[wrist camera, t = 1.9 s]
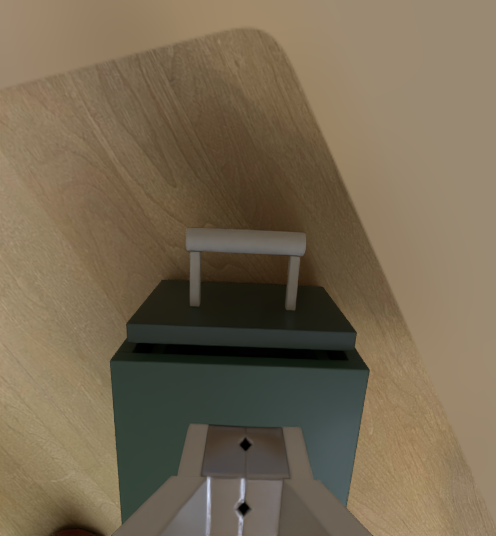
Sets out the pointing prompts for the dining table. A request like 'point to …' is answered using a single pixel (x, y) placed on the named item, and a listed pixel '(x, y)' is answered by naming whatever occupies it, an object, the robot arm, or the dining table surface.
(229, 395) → the cabinet
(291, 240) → the drawer
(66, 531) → the mug
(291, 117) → the dining table surface
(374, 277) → the dining table surface
